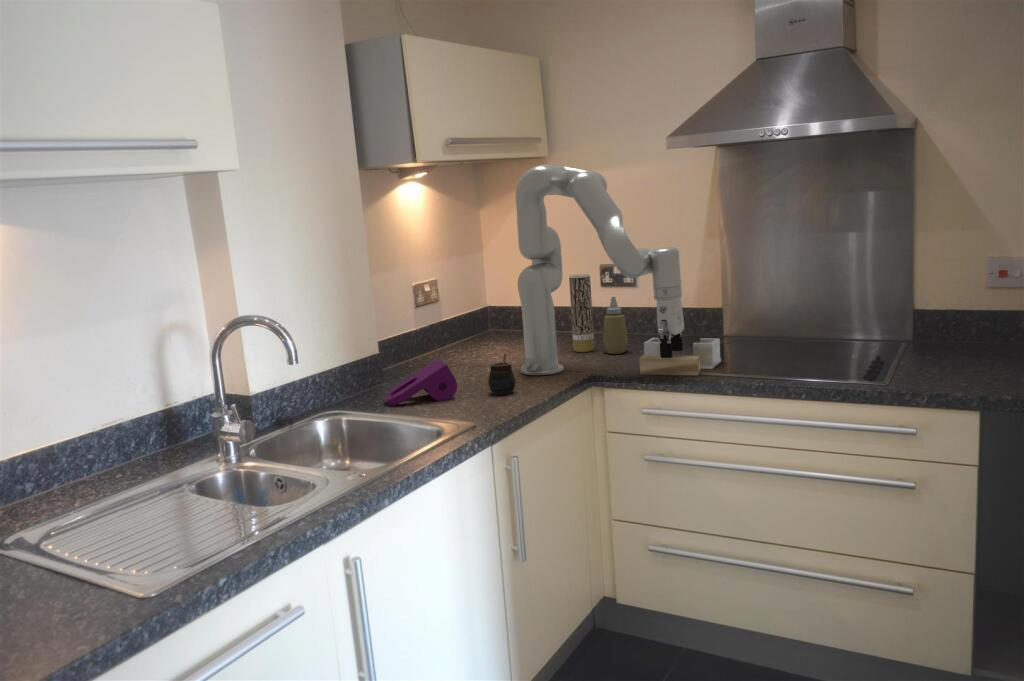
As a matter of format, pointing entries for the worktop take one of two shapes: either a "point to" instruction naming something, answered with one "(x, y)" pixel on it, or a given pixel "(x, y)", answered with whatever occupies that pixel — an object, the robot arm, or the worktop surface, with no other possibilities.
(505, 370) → the mate gourd
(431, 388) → the mounting bracket
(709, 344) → the bracket
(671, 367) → the rail
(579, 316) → the paper tube
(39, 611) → the worktop surface
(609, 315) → the squeeze bottle
